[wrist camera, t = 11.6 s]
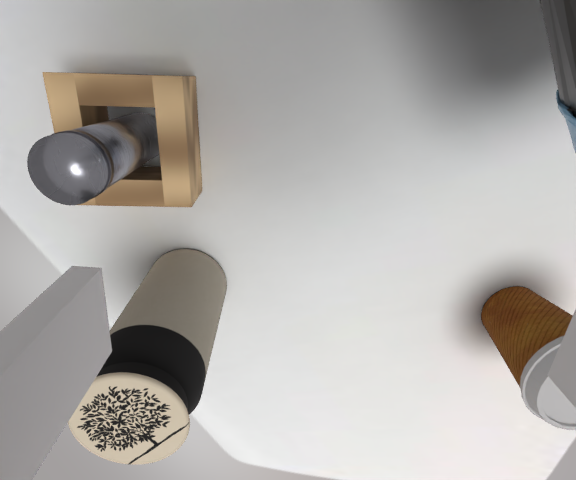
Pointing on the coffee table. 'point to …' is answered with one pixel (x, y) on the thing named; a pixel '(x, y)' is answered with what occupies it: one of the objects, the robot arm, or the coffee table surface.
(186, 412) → the travel mug
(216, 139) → the coffee table surface
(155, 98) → the square frame
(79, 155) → the metal canister
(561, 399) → the disposable coffee cup
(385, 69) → the coffee table surface
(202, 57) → the coffee table surface
